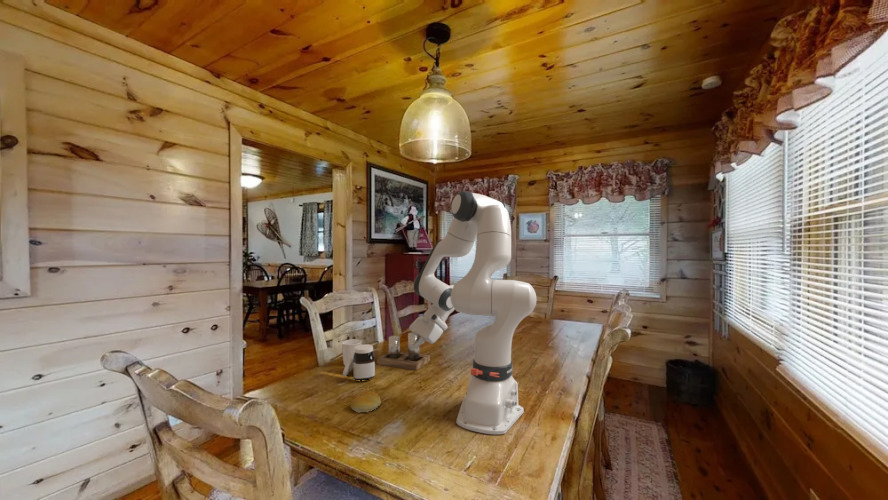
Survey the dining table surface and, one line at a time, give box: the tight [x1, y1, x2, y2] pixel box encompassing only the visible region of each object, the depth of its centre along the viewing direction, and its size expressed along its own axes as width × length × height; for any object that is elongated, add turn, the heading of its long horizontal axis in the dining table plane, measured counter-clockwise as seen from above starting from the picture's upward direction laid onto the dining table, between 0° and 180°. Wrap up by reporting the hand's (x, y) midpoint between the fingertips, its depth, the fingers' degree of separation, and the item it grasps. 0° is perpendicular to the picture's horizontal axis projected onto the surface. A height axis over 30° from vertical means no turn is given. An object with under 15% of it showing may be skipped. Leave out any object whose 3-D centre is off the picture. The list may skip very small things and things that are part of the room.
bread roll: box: [350, 390, 382, 413], centre depth 104 cm, size 8×9×4 cm
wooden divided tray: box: [376, 350, 431, 371], centre depth 139 cm, size 12×18×3 cm, turn 67°
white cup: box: [341, 338, 363, 367], centre depth 138 cm, size 8×8×10 cm
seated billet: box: [388, 335, 401, 359], centre depth 141 cm, size 4×4×10 cm
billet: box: [407, 331, 420, 360], centre depth 138 cm, size 4×4×10 cm
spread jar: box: [342, 344, 376, 381], centre depth 126 cm, size 12×11×12 cm
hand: (412, 345), depth 137 cm, fingers closed on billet, 4 cm apart
